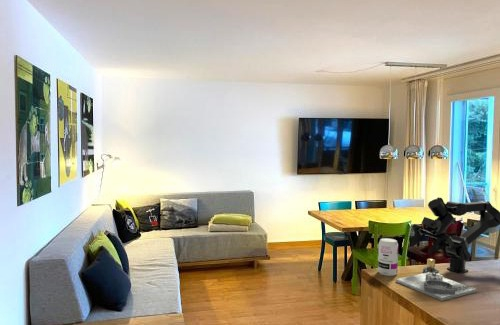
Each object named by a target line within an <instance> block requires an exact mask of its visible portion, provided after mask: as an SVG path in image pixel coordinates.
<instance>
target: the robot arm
mask: <svg viewBox="0 0 500 325" xmlns="http://www.w3.org/2000/svg"><path fill="white" fill-rule="evenodd" d="M427 207H428V208H429V209H430V211H431V212H432V214H433V215H434V216H435V217H437V218H435V219H432V218H429V217H427V216H426V217H425V216H424V217H423V219H422V220H421V223H420V224H417V223H414V224H413V225H412V226H411V230H412V231H413V233H414V235H413V239H412V242H411V246H412V247H415V246H416V245H417V244H419V243H420V242H421V241H422V240H423V239H424V237H426V236H427V237H430V238H434V239H435V242H434V244H432V246H431V247H430V248H429V250H428V254H434V253H435V252H437V251H441V250H444V249H445V253H446V255H447V256H450V258H449V267H447V268H446V270H448V271H452V272H454V273H457V274H461V273H465V272H469V270H468V269H466V261H468V260H470V259H471V253H470V251H469V245H470V244H471V243H473V242H474V241H475V240H476V239H478V238H479V237H480V236H481V235H482V234H484V233H486V231H487V230H489V229H492V228H496V227H498V226H500V211H499V210H498V209H497V208H496V207H494V206H493V205H492V204H491V202H488V201H484V200H483V201H482V200H480V201H472V202H471V201H470V202H462V203H461V202H456V201H447V202H446V203H445V201H444V200H443V198H442V197H440V196H439V197H437V198H435V199H432V200H430V201H429V202H428V204H427ZM472 212H473V213H474V212H478V214H479V220H478V221H477V222H476V223H475V224H474V225H473V226H471V227H470V228H469V229H467V230H466V231H465V232H464V233H462V234H461V235H460V236H457V235H452V236H451V235H449V234H447V233H448V228H449V226H451V224H453V225H456V224H457V218H456V217H454V216H458V217H460V216H464V215H466V214H467V213H472ZM421 224H422V225H423V226H424V227H425V228H424V227H423V226H422V225H421Z"/></svg>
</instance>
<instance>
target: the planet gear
mask: <svg viewBox="0 0 500 325" xmlns="http://www.w3.org/2000/svg"><path fill="white" fill-rule="evenodd" d="M426 261H427V262H426V266H425V267H423V268H422V274H423V273H428V272H430V273H432V272H435V273H437V274H438V273H439V274H440V270H439V269H437V268H436V259H433V258H427V259H426Z"/></svg>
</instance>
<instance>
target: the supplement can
mask: <svg viewBox="0 0 500 325" xmlns="http://www.w3.org/2000/svg"><path fill="white" fill-rule="evenodd" d="M377 252H378V253H377V254H378V255H377V257H378V258H377V261H378V262H377V271H378V273H379V275H382V276H386V277H387V276H388V277H393V276H396V275H397V274H398V267H399V266H398V263H399V260H398V259H399V243H398V240H396V239H394V238H388V237H387V238H386V237H385V238H380V239H379V242H378V251H377Z"/></svg>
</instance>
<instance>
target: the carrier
mask: <svg viewBox="0 0 500 325" xmlns="http://www.w3.org/2000/svg"><path fill="white" fill-rule="evenodd" d="M395 282H396V283H397V284H400V285H403V286H405V287H408V288H409V289H412V290H414V291H418V292H420V293H422V294H424V295H427V296H429V297H431V298H433V299H436V300H438V301H440V302H444V301H446V300H451V299H454V298H455V299H456V298H458V297H459V298H460V297H462V296H466V295H470V294H474V293H477V290H478V289H477V288H475V287H472V286H469V285H466V284H463V283H461V282H458V281H455V280H452V279H450V278H446V277H444V276H443V275H442V274H441V273H440V272H439V273H438V274H437V273H435V272H432V273H430V272H428V273H423V272H422V273H418V274H414V275H408V276H405V277H404V276H403V277H399V278H396V279H395Z"/></svg>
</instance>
